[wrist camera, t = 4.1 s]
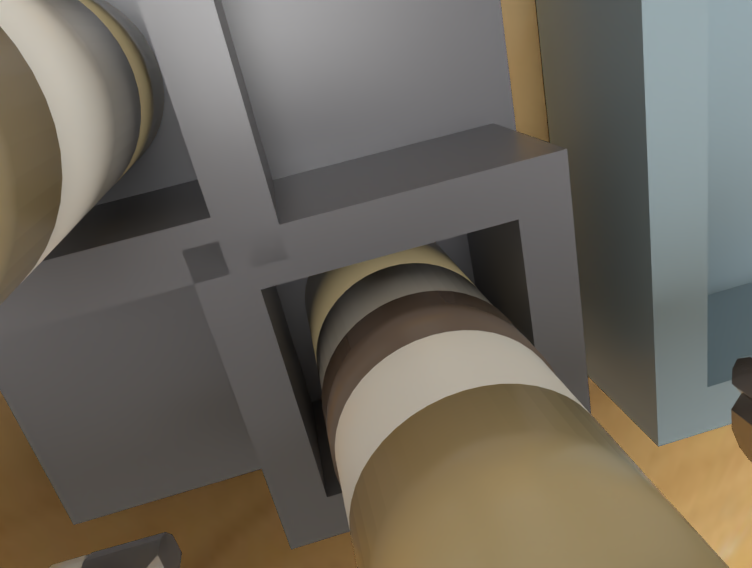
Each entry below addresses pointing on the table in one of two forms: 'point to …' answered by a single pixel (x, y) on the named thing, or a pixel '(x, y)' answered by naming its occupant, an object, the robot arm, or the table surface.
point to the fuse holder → (279, 244)
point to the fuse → (66, 119)
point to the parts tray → (658, 197)
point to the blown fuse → (470, 434)
